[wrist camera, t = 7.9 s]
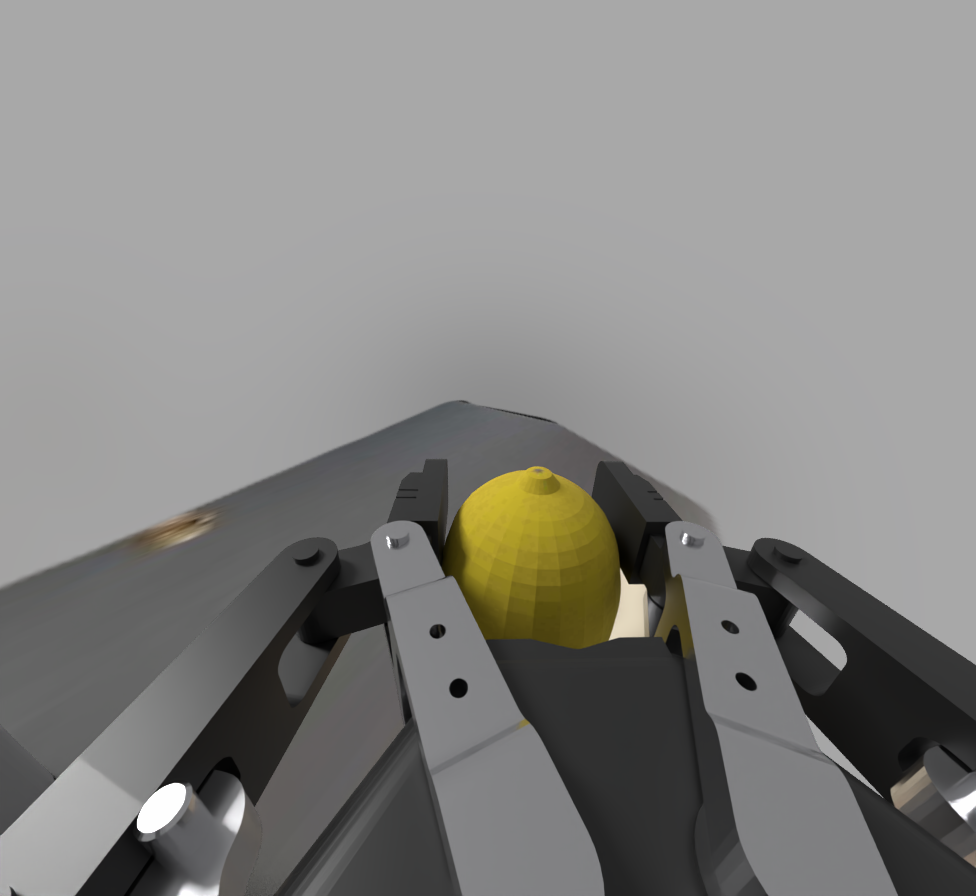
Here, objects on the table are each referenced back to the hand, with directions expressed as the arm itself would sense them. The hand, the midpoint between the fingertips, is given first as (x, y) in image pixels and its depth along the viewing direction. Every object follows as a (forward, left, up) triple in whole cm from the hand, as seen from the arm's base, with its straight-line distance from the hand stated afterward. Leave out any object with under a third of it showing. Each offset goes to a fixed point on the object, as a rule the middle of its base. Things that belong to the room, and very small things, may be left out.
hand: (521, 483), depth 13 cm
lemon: (+1, -2, -6) cm, 7 cm away
